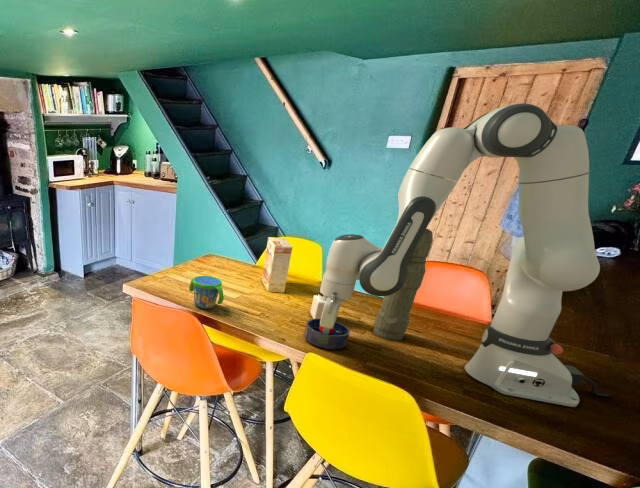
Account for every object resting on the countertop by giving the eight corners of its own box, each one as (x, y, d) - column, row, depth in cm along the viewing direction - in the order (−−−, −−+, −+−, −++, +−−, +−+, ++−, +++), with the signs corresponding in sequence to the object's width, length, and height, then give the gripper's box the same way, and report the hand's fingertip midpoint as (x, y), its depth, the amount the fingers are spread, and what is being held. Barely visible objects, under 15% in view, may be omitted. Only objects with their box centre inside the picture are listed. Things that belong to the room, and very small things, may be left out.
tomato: (333, 333, 126) (336, 321, 125) (331, 339, 123) (334, 326, 121) (319, 330, 128) (321, 318, 127) (317, 335, 125) (319, 323, 123)
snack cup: (229, 310, 147) (232, 284, 143) (206, 316, 142) (209, 289, 138) (202, 296, 159) (205, 272, 155) (180, 300, 155) (182, 275, 151)
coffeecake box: (260, 279, 179) (267, 236, 172) (277, 280, 178) (284, 237, 171) (266, 291, 166) (274, 245, 158) (284, 293, 165) (293, 246, 157)
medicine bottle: (335, 323, 139) (343, 290, 134) (314, 320, 140) (321, 289, 136) (330, 314, 146) (338, 283, 141) (309, 312, 147) (316, 281, 142)
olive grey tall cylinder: (366, 335, 131) (397, 229, 117) (377, 324, 139) (408, 223, 125) (397, 345, 125) (434, 234, 111) (407, 333, 133) (442, 228, 119)
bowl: (347, 338, 128) (351, 324, 126) (343, 354, 119) (347, 340, 117) (307, 329, 134) (310, 315, 132) (300, 343, 125) (303, 329, 123)
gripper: (345, 302, 110) (333, 346, 115) (351, 281, 126) (341, 320, 131) (320, 297, 113) (310, 340, 118) (329, 277, 129) (320, 316, 134)
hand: (326, 329), depth 125 cm, fingers closed on tomato, 4 cm apart
